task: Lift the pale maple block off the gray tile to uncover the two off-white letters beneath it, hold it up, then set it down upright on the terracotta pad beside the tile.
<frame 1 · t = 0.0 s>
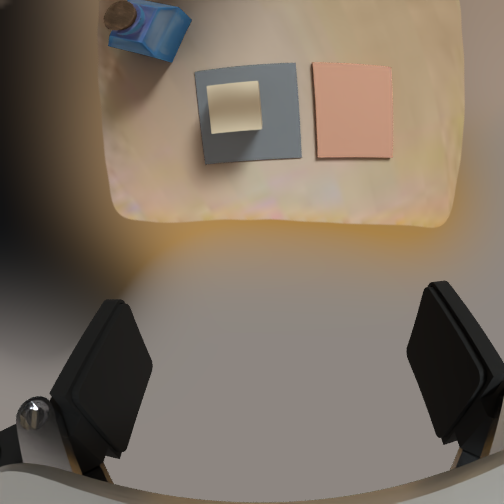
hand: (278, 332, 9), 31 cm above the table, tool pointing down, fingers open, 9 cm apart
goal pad: (354, 110, 33), on the table
perfume bottle: (160, 35, 30), on the table
maple block: (239, 105, 34), resting on gray tile
gray tile: (248, 112, 34), on the table
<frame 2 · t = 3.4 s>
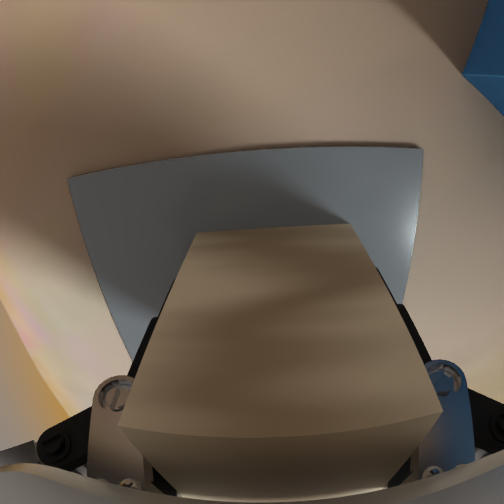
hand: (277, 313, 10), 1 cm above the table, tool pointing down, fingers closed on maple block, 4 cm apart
maple block: (277, 291, 11), resting on gray tile, touching gripper
gray tile: (252, 311, 12), on the table
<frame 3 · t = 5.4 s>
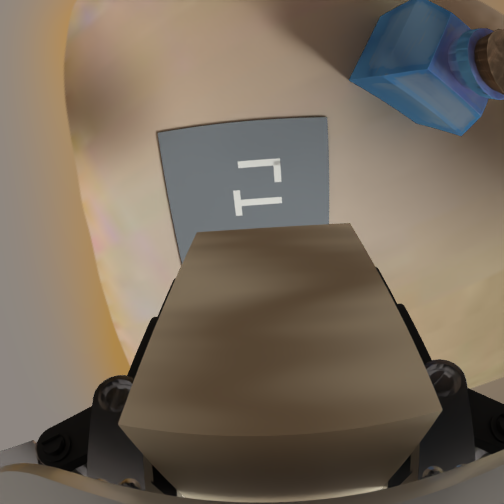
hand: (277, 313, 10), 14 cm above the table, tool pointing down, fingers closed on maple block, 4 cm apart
perfume bottle: (399, 69, 18), on the table
maple block: (277, 291, 11), point 13 cm above the table, touching gripper
gray tile: (248, 201, 23), on the table
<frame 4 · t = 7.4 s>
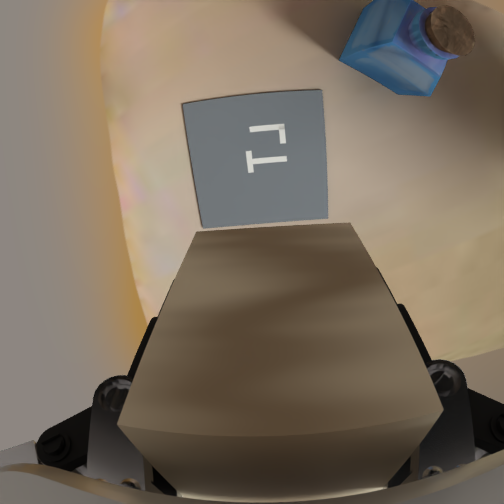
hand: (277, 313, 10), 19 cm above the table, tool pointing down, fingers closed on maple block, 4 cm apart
perfume bottle: (381, 50, 21), on the table
maple block: (277, 290, 11), point 18 cm above the table, touching gripper
gray tile: (258, 160, 27), on the table
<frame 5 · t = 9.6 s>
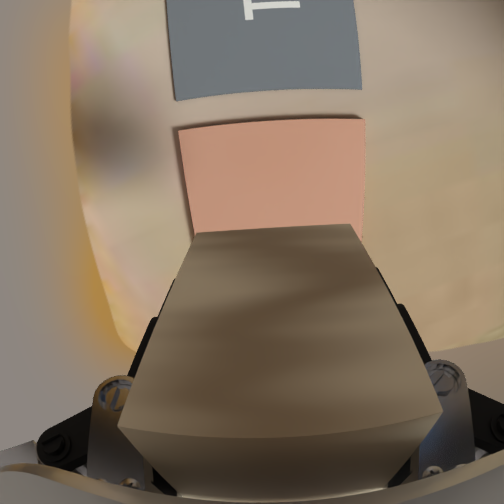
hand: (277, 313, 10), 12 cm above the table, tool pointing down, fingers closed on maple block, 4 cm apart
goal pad: (276, 192, 21), on the table
maple block: (277, 291, 11), point 11 cm above the table, touching gripper
gray tile: (260, 6, 15), on the table
when the fingers open (3 cm above the table, at t = 11.6 s): maple block drops 1 cm, resting on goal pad.
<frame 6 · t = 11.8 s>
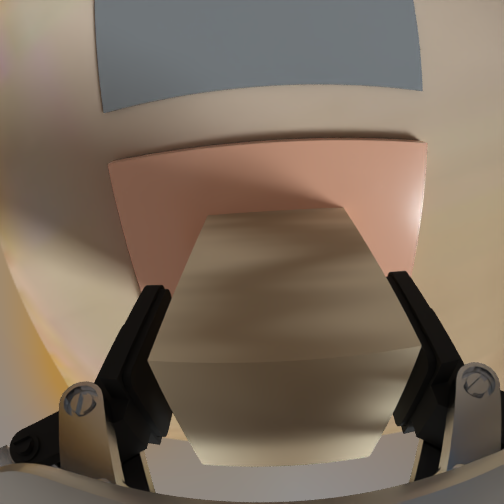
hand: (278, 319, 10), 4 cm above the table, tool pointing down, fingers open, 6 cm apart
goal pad: (275, 262, 13), on the table
maple block: (279, 269, 12), point 1 cm above the table, touching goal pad
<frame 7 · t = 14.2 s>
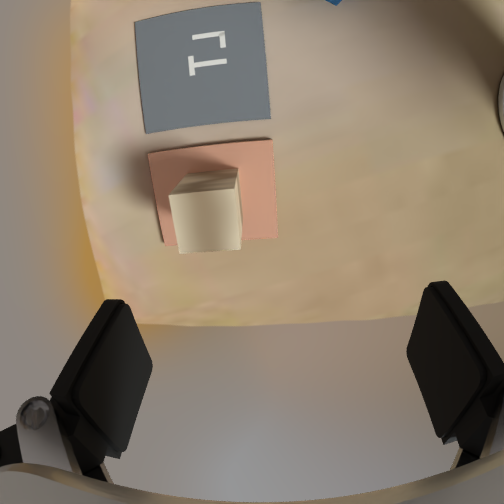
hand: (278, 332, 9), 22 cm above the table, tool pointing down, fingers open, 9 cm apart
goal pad: (214, 194, 30), on the table
maple block: (215, 195, 30), point 1 cm above the table, touching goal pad
gray tile: (200, 64, 24), on the table
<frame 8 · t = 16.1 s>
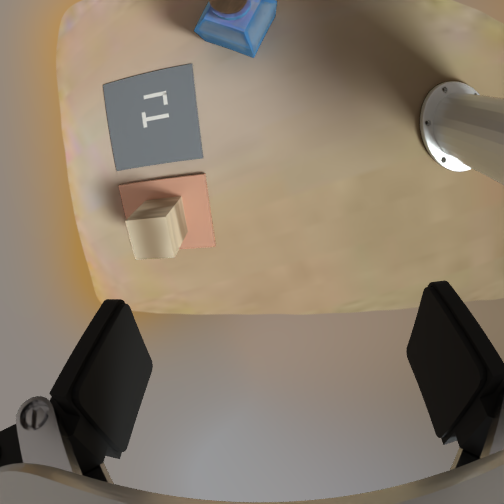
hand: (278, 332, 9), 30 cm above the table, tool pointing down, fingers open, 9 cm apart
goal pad: (167, 214, 40), on the table
perfume bottle: (240, 27, 29), on the table
maple block: (166, 215, 40), point 1 cm above the table, touching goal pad
gray tile: (150, 118, 34), on the table
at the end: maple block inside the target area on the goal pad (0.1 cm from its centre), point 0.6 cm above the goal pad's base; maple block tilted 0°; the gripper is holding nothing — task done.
